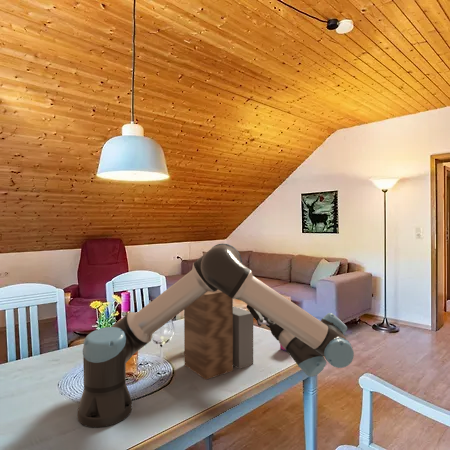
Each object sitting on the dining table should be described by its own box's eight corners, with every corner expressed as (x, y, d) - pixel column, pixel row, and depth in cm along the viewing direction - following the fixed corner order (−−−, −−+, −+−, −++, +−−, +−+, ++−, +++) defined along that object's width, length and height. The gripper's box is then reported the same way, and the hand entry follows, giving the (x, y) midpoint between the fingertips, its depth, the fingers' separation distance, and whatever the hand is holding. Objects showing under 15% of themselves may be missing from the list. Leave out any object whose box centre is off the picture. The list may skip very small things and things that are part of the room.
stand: (205, 379, 124) (205, 294, 123) (184, 365, 136) (184, 287, 136) (232, 370, 131) (232, 290, 130) (210, 357, 143) (210, 284, 143)
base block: (239, 368, 133) (239, 315, 132) (220, 358, 143) (220, 309, 142) (253, 364, 137) (253, 312, 137) (234, 354, 147) (234, 306, 146)
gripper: (264, 347, 115) (226, 299, 131) (299, 336, 124) (260, 293, 141) (272, 330, 111) (232, 283, 128) (307, 320, 121) (266, 278, 137)
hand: (247, 289), depth 134 cm, fingers closed on bar, 3 cm apart
